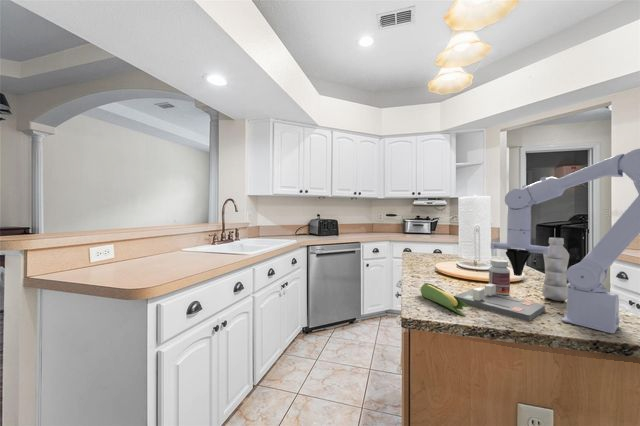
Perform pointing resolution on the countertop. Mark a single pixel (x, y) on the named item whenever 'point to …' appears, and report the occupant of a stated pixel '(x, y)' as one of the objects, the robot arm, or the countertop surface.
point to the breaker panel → (504, 305)
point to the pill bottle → (500, 276)
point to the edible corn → (442, 298)
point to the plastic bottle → (556, 271)
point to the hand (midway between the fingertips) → (517, 275)
